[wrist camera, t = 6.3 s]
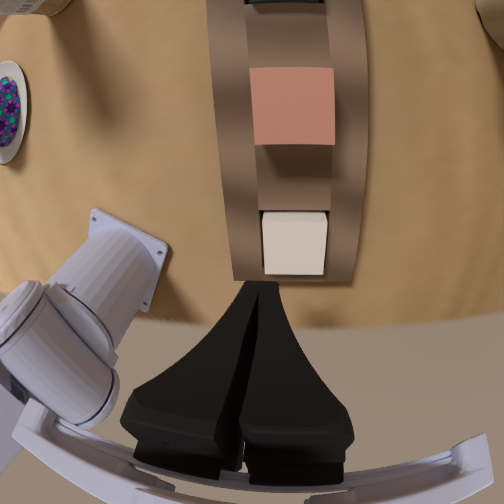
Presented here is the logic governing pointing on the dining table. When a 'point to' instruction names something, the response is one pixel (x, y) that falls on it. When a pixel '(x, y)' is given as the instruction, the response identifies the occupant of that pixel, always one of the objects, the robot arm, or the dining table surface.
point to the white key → (294, 241)
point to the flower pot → (492, 18)
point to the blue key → (282, 1)
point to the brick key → (293, 105)
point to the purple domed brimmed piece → (11, 110)
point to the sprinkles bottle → (32, 7)
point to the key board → (290, 155)
